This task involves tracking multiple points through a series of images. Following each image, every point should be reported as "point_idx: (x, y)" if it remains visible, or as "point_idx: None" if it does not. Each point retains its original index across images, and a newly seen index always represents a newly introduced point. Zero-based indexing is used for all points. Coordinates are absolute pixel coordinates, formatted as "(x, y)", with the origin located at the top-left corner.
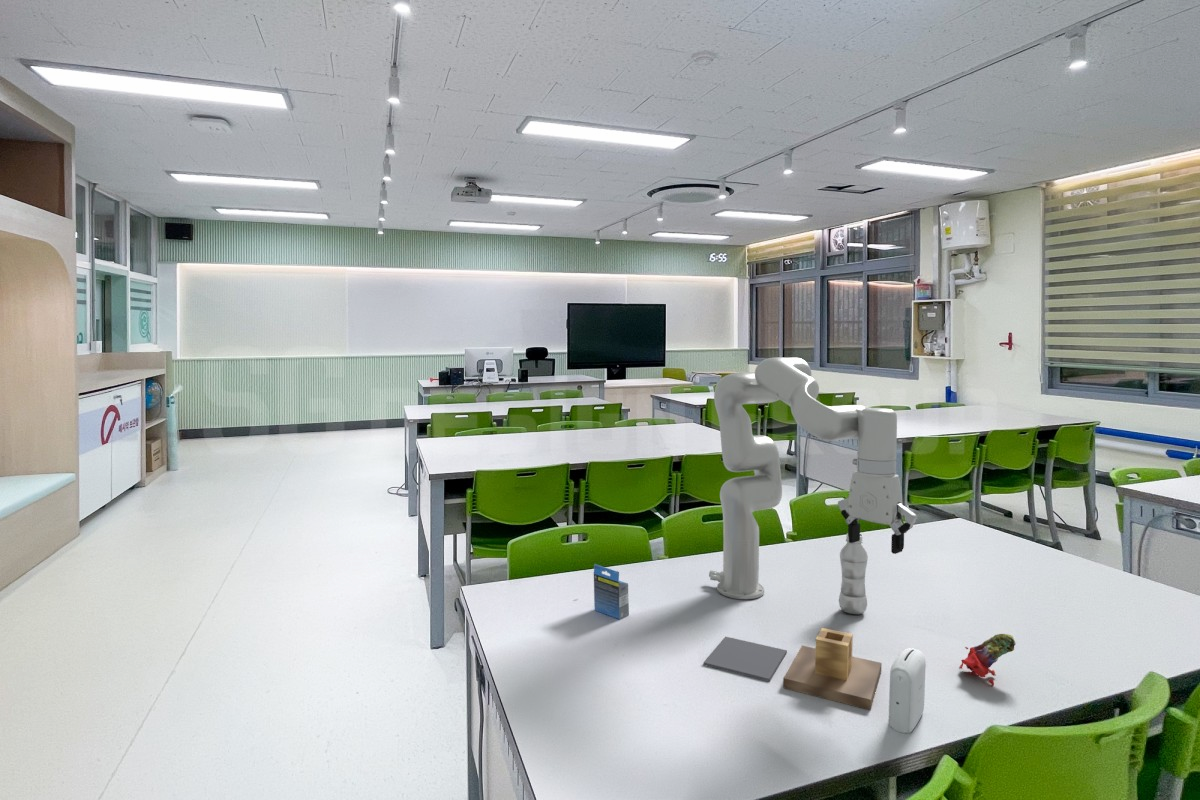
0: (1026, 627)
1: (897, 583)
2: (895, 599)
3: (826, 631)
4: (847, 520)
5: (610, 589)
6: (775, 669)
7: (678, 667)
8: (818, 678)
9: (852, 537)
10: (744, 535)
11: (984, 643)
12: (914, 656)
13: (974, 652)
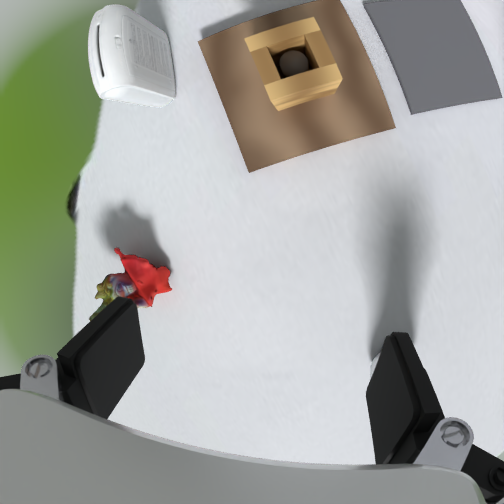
0: (190, 433)
1: (360, 462)
2: (347, 429)
3: (322, 68)
4: (461, 438)
5: None
6: (380, 36)
7: None
8: None
9: (393, 356)
10: None
11: None
12: (89, 48)
13: (140, 290)
